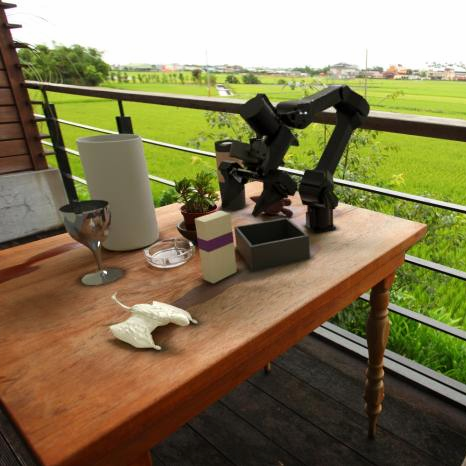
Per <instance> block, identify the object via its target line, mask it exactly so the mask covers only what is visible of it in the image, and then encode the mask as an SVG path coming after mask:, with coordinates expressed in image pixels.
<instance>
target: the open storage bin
mask: <svg viewBox="0 0 466 466" xmlns="http://www.w3.org/2000/svg"><path fill="white" fill-rule="evenodd" d="M233 227H234V236H235V248H236V250H237V252H238V253H239V254H240V255H241V257H242V258H243V259H244V261H245V262H246V263H247V265H248V266H249V268H250V269H251V271H258V270H263V269H268V268H271V267H276V266H280V265H284V264H289V263H293V262H298V261H303V260H307V259H311V252H310V251H311V249H310V235H309V234H308V233H307V232H306V231H305V230H303V229H302V228H301V227H299V226H298V225H297V224H296V223H295V222H293V221H292V220H291V219H290V218H289V217H283V218H278V219H273V220H267V221H260V222H255V223H249V224H242V225H236V226H233Z"/></svg>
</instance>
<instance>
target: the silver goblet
mask: <svg viewBox="0 0 466 466" xmlns="http://www.w3.org/2000/svg"><path fill="white" fill-rule="evenodd" d="M58 212H59V216H60V219H61V221H62V224H63V226H64V228H65V230H66V232H67V234H68V235H69V237H71V238H72V239H73V240H74V241H75V242H77V243H79V244H81V245H82V246H84V247H86V248H87V249H89V251H90V252H91V253H92V255H93V257H94V259H95V262H96V265H97V266H96V267H97V270H94V271H91V272H89V273H87V274H85V275H84V276H83V277H82V278H81V283H82V284H84V285H87V286H97V285H105V284H107V283H108V284H109V283H111V282H113V281H115V280H117V279H119V278H120V277H121V276H122V275H123V270H122V269H120V268H117V267H107V268H104V267H103V264H102V258H101V249H102V247H103V245H102V244H103V242H104V241H105V239H106V238H107V236H108V235H109V233H110V231H111V227H112V217H111V210H110V206H109V203H108V202H107V201H104V200H91V199H86V200H79V201H74V202H70V203H67V204H64V205H62V206H61V207H59V209H58Z"/></svg>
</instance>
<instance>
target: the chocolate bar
mask: <svg viewBox="0 0 466 466" xmlns="http://www.w3.org/2000/svg"><path fill="white" fill-rule="evenodd" d="M194 224H195V229H196V231H195V232H196V239H197V240H196V241H197V246H198V247H197V248H198V251H199V257H200V264H201V271H202V278H203V280H204V281H207V282H209V283H211V284H215V283H217V282H219V281H222V280H223V279H225V278H227V277H230V276H231V275H233V274H235V273H237V271H238V269H237V262H236V252H235V244H234V242H235V241H234V231H233V226H232V225H233V224H232V217H231V213H230V212H227V211H223V210H218V211H215V212H212V213H208V214H206V215H202V216H199V217H196V218H194Z"/></svg>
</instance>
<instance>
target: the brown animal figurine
mask: <svg viewBox="0 0 466 466" xmlns="http://www.w3.org/2000/svg"><path fill="white" fill-rule="evenodd" d="M259 197H260V195H254V196H249V200H251V201H252V202H253V203H255V204H256V203H257V201H258V199H259ZM292 202H293V201H292V200H291V199H290V198H287V199H286V198H284V199H282V200H281V201H279V202H277V203H276V204H274V205H272V206H271V207H269V208H268V209H267V210H265V211H264V212H263V213H264V215H278V214H279V213H281V214H283V215H284V216H286V217H293V215H294V212H293V211H292V210H291V209H290V208H286V207H290V206H292V204H293V203H292Z"/></svg>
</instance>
